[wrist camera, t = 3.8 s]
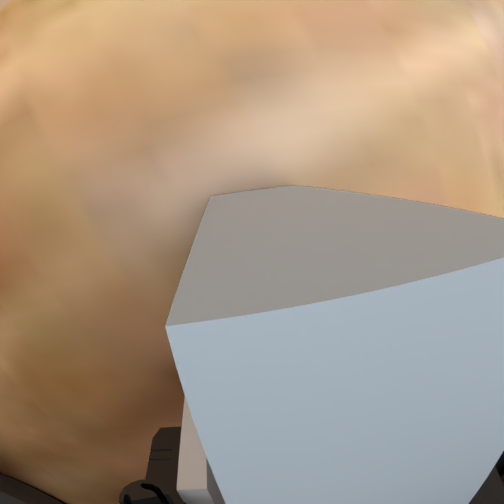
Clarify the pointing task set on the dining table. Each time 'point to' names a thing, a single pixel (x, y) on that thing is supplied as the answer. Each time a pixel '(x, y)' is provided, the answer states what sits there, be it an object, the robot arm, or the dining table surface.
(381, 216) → the blue-grey bridge block
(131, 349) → the dining table surface
